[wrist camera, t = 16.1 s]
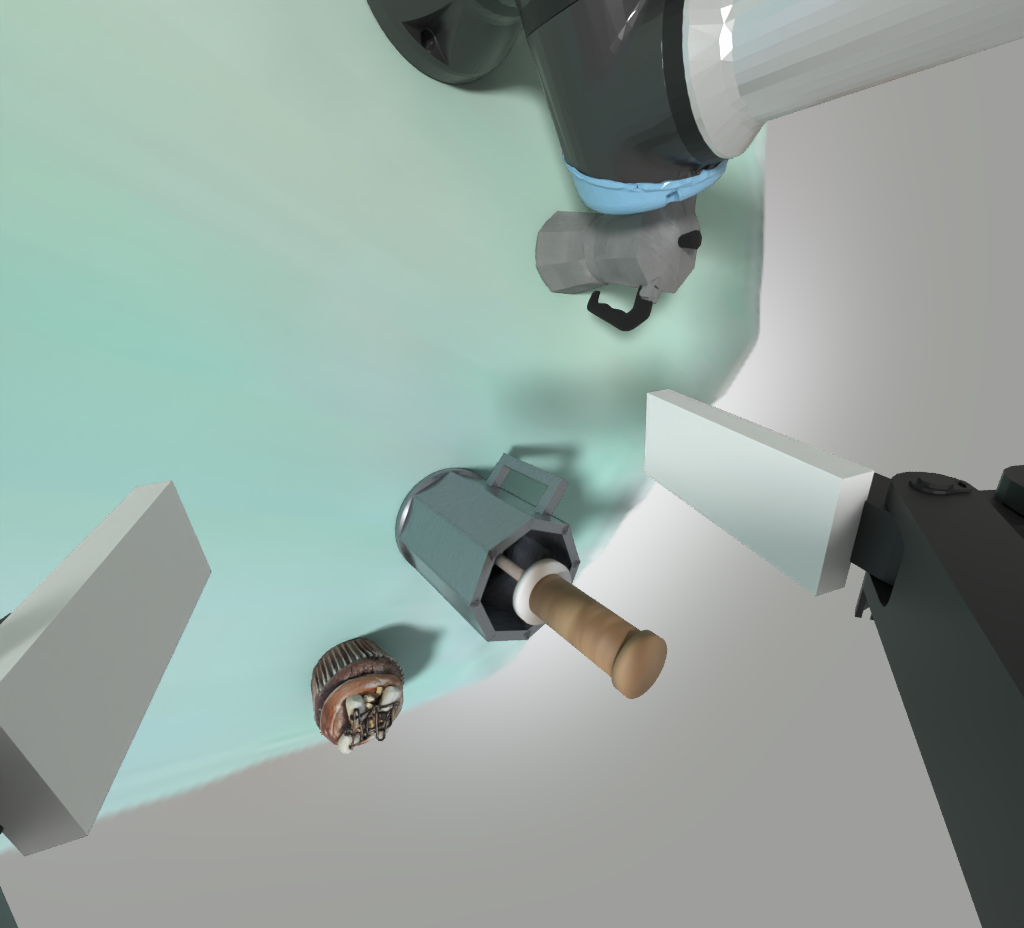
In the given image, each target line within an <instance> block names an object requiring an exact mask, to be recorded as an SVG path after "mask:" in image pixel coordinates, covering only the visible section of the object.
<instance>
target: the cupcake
mask: <svg viewBox="0 0 1024 928" xmlns="http://www.w3.org/2000/svg"><path fill="white" fill-rule="evenodd" d="M401 672H402V669H401V668H400V665H399V664H398V663H397V661H396V660H394V659H393V658H391V657H390V656H388V655H387V654H386V653H385V652H383V651H382V650H381V649H380V648H379V647H378V646H377V645H376V644H375V643H374V642H371V641H368V640H367V639H360V638H358V639H355V640H353V641H347V642H343V643H340V644H338V645H336V646H335V647H334V648H331V649H330V650H329V651H327V652H326V653H325V654H324V655H323V656H322V658H321V659H320V660H319V661H318V663H317V665H316V666H315V668H314V670H313V676H312V680H311V691H312V700H313V711H314V721H316V724H317V726H318V727H319V729H320V730H321V732H320V733H321V735H324V736H325V737H326V738H327V739H329V740H330V741H331V742H332V743H333V744H335V745H338V747H339V750H340V751H341V752H342V753H345V754H349V753H350V752H351V751H352V750H353V749H354V748H355V747H356V746H358V745H361V744H364V743H366V742H368V741H370V740H373V739H374V738H376V739H377V740H378V741H382V740H384V739H385V736H386V733H387V732H388V730H389V727H390V726H391V725H392V722H393V721H394V720H395V718H396V717H397V716H398V714H399V712H400V710H401V708H402V705H403V684H404V681H403V679H404V677H403V675H404V674H403V673H401Z"/></svg>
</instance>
